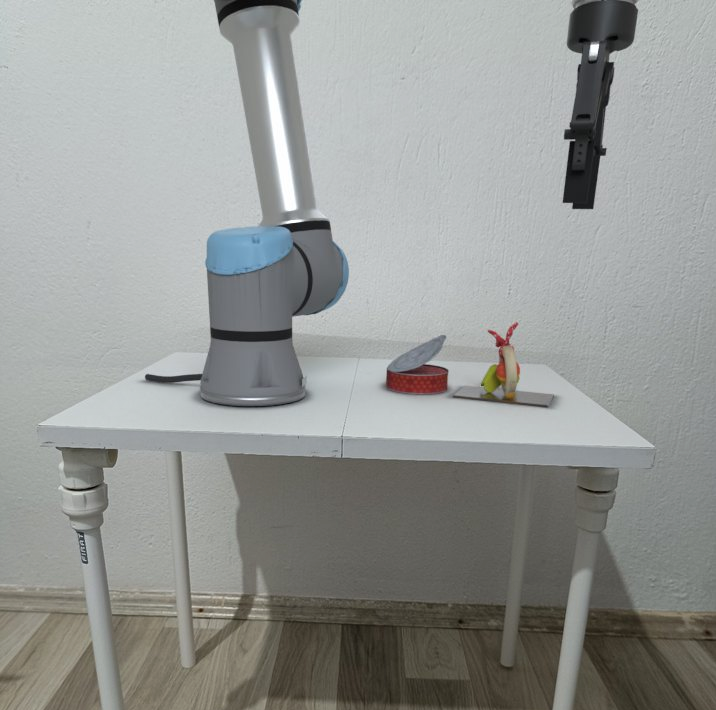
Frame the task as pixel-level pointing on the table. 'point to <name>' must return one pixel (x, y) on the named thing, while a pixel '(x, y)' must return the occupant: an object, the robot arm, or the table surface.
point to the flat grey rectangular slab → (499, 396)
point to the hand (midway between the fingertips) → (578, 206)
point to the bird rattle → (503, 367)
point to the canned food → (418, 370)
